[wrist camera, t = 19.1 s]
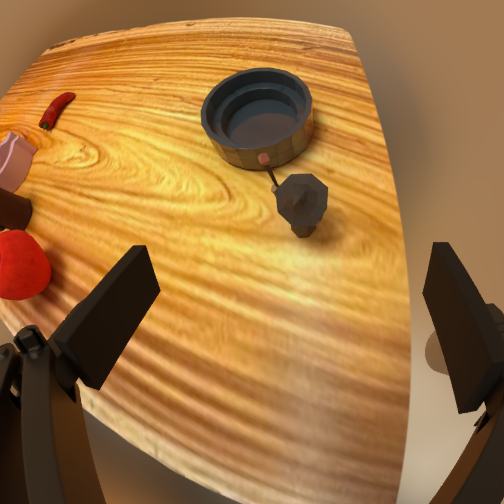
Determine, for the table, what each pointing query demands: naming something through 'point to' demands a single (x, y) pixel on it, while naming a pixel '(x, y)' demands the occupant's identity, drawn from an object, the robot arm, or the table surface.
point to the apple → (22, 266)
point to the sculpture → (13, 211)
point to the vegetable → (54, 110)
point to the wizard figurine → (299, 199)
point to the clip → (14, 161)
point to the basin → (259, 117)
